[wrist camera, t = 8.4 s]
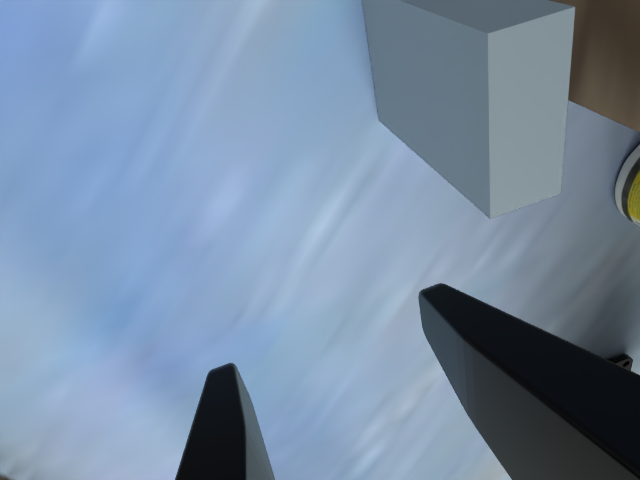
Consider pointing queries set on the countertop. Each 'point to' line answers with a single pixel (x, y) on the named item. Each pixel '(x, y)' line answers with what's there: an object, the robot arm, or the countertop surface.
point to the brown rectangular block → (606, 58)
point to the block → (477, 91)
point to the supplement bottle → (629, 188)
